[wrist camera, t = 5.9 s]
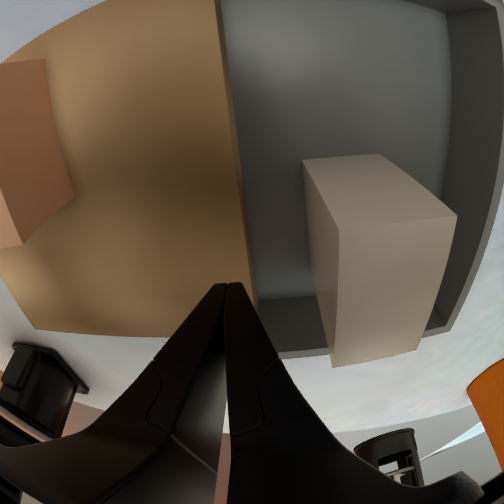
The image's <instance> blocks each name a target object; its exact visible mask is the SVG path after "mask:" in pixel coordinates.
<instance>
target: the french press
mask: <svg viewBox="0 0 504 504" xmlns="http://www.w3.org/2000/svg"><path fill="white" fill-rule="evenodd" d="M414 433H415V432H414V429H412V428H406V429H400V430H396V431H392V432H389V433H385V434H383V435H379V436H377V437H374V438H372V439H369V440H367V441H365V442H363V443H361V444H359V445H357V446H356V447H355V448H354V453H355V454H356V455H357V456H358V457H360V458H361V459H363V460H364V461H365V462H367V463H368V464H370V465H372V466H373V467H375V468H376V469H378V470H379V466H382V465H386V464H389V463H392V462H395V461H397V464H398V470H395V471H392V472H388V473H385V474H386V475H387V476H389V477H390V478H392V479H396V478H398V477H400V480H401V484H403V485H406V486H411V487H423V486H425V485H424V480H423V475H422V470H421V466H420V461H419V457H418V453H417V445H416V441H415V437H414Z"/></svg>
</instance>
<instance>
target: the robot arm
mask: <svg viewBox="0 0 504 504" xmlns="http://www.w3.org/2000/svg"><path fill="white" fill-rule="evenodd" d="M12 348H13V349H14V350H15V352H14V354H13V356H12V357H11V359H10V361H9V363H8V365H7V367H6V369H5V371H4V374H3V375H2V377H1V382H2V383H3V384H2V387H1V389H0V411H1V412H2V413H3V414H5V415H6V416H8V417H9V418H10V419H12V420H13V421H15V422H16V423H18V424H19V425H21V426H22V427H24V428H25V429H27V430H29V431H30V432H32V433H33V434H35V435H37V436H38V437H40V438H42V439H43V440H45V441H46V442H41V441H39V440H37V439H36V438H34V437H32V436H31V435H29V434H27V433H26V432H24V431H22V430H21V429H20V428H18V427H17V426H15V425H14V424H12V423H11V422H9V421H8V420H6V419H5V418H4V417H2V416H1V415H0V504H214V498H215V489H216V481H217V472H218V464H219V456H220V448H221V439H222V432H223V424H224V416H225V408H226V400H227V401H228V416H229V429H230V437H231V439H230V440H231V466H230V476H229V486H228V496H227V504H504V471H502V472H501V473H499V474H498V475H496V476H495V477H493V478H491V479H490V480H488V481H487V482H485V483H483V484H482V485H480V486H479V485H478V484H477V483H476V482H475V481H474V480H473V479H472V478H470V477H469V476H468V475H467V474H465V473H464V472H463V471H460V472H457V473H455V474H453V475H451V476H448V477H446V478H444V479H442V480H439V481H437V482H435V483H432V484H430V485H427V486H423V487H411V486H406V485H403V484H401V483H399V482H397V481H395V480H394V479H392V478H390V477H389V476H387V475H386V474H384V473H382V472H381V471H379V470H378V469H376V468H375V467H373V466H372V465H370V464H368V463H367V462H365V461H364V460H363V459H361V458H360V457H358V456H357V455H355V454H354V453H352V452H351V451H349V450H348V449H347V448H346V447H344V446H343V445H342V444H341V443H340V442H339V441H338V440H337V439H336V438H335V436H334V435H333V434H332V433H331V432H330V431H329V429H328V428H327V427H326V426H325V424H324V423H323V422H322V420H321V419H320V418H319V417H318V415H317V414H316V413H315V411H314V410H313V409H312V407H311V406H310V405H309V404H308V402H307V401H306V400H305V398H304V397H303V395H302V394H301V393H300V391H299V390H298V388H297V387H296V385H295V384H294V382H293V380H292V379H291V377H290V375H289V374H288V372H287V370H286V368H285V366H284V364H283V362H282V361H281V359H280V357H279V355H278V353H277V351H276V349H275V347H274V345H273V343H272V341H271V339H270V337H269V335H268V333H267V331H266V329H265V328H264V326H263V324H262V322H261V320H260V318H259V316H258V314H257V312H256V310H255V308H254V306H253V304H252V302H251V300H250V298H249V296H248V293H247V291H246V289H245V287H244V285H243V283H242V282H230V283H229V284H227V283H215V284H214V285H213V286H212V287H211V288H210V289H209V291H208V292H207V293H206V294H205V296H204V297H203V298H202V299H201V300H200V302H199V303H198V304H197V305H196V307H195V308H194V309H193V310H192V311H191V313H190V314H189V315H188V316H187V318H186V319H185V320H184V321H183V323H182V324H181V325H180V326H179V327H178V329H177V330H176V331H175V332H174V334H173V335H172V336H171V337H170V339H169V340H168V341H167V342H166V343H165V345H164V346H163V347H162V348H161V350H160V351H159V352H158V353H157V355H156V356H155V357H154V358H153V360H154V361H151V362H150V363H149V364H148V366H147V367H146V368H145V369H144V371H143V372H142V373H141V374H140V375H139V376H138V378H137V379H136V380H135V381H134V382H133V383H132V384H131V385H130V386H129V388H128V389H127V390H126V391H125V392H124V393H123V394H122V395H121V396H120V397H119V398H118V399H117V400H116V401H115V402H114V403H113V404H112V405H111V406H110V407H109V408H108V409H107V410H106V411H105V412H104V413H103V414H102V415H101V416H100V417H99V418H98V419H97V420H96V421H94V422H93V423H92V424H91V425H90V426H88V427H87V428H85V429H84V430H82V431H80V432H78V433H75V434H72V435H69V436H65V437H61V435H62V432H63V429H64V426H65V422H66V419H67V417H68V414H69V410H70V408H71V405H72V402H73V399H74V396H75V394H76V392H77V393H82V394H88V393H89V389H88V388H87V387H86V386H85V385H84V384H83V383H82V382H81V381H80V380H79V379H78V378H77V377H76V375H75V374H74V373H73V372H72V371H71V370H70V369H69V368H68V366H67V365H66V364H65V363H64V362H63V361H62V359H61V358H60V357H59V356H58V355H57V353H56V352H54V351H53V350H50V349H45V348H39V347H34V346H29V345H24V344H19V343H13V345H12Z"/></svg>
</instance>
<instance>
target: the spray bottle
mask: <svg viewBox="0 0 504 504" xmlns="http://www.w3.org/2000/svg"><path fill="white" fill-rule="evenodd" d="M467 394H468V396H469V398H470V400H471V402H472V404H473V406H474V407H475V409H476V411H477V414H478V416H479V418H480V420H481V422H482V424H483V426H484V428H485V431H486V433H487V435H488V437H489V439H490V442H491V444H492V446H493V449H494V451H495V454H496V456H497V459H498V461H499V464H500V467H501V469H502V471H504V359H503V360H501V361H499V362H497V363H496V364H494V365H493V366H491V367H490V368H488V369H487V370H486V371H485V372H483V373H482V374H481V375H480V376H479V377H478V378H476V379H475V380H474V381H473V382H472V384H471V385H470V386H469V388H468V391H467Z"/></svg>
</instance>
